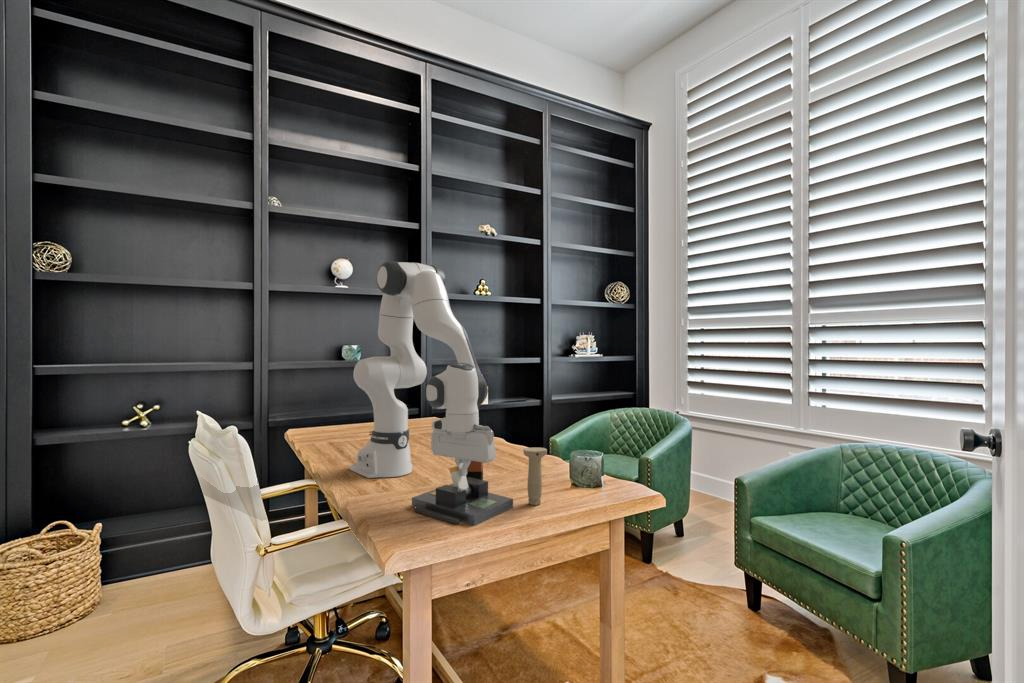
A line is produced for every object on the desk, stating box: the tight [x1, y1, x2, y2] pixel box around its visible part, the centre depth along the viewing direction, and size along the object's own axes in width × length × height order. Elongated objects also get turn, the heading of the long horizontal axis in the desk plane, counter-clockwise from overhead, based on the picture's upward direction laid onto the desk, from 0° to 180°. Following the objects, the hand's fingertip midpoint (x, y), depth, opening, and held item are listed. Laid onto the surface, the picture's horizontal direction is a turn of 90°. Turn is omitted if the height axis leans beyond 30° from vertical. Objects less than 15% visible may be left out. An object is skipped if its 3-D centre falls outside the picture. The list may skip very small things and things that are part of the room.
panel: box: [411, 477, 514, 526], centre depth 132 cm, size 22×16×6 cm
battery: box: [466, 461, 484, 480], centre depth 149 cm, size 4×7×10 cm, turn 86°
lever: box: [448, 465, 471, 496], centre depth 132 cm, size 2×4×8 cm, turn 144°
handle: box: [523, 446, 548, 506], centre depth 135 cm, size 5×6×15 cm
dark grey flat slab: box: [413, 507, 460, 525], centre depth 132 cm, size 15×21×1 cm
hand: (462, 475), depth 132 cm, fingers closed, pressing on lever
